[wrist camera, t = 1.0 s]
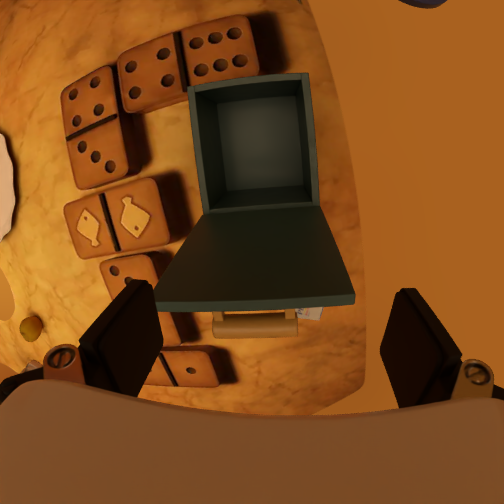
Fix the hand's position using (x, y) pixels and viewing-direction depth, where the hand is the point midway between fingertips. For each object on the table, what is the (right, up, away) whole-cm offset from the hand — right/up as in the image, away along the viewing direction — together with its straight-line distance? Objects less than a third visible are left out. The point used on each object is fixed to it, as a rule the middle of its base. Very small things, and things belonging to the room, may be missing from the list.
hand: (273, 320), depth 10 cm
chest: (0, +18, +28) cm, 33 cm away
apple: (-59, -16, +48) cm, 78 cm away
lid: (-1, +3, +12) cm, 13 cm away
